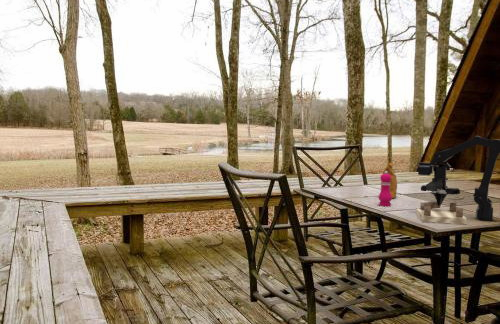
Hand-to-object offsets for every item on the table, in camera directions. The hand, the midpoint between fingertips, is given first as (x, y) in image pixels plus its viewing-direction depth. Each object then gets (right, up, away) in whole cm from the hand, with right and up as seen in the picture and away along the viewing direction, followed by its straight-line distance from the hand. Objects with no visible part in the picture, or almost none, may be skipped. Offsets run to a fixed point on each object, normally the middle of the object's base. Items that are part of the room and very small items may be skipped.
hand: (439, 206), depth 215 cm
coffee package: (-9, 0, +52) cm, 53 cm away
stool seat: (-4, -5, -10) cm, 12 cm away
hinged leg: (-5, -1, +1) cm, 5 cm away
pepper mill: (-20, -2, +25) cm, 32 cm away
